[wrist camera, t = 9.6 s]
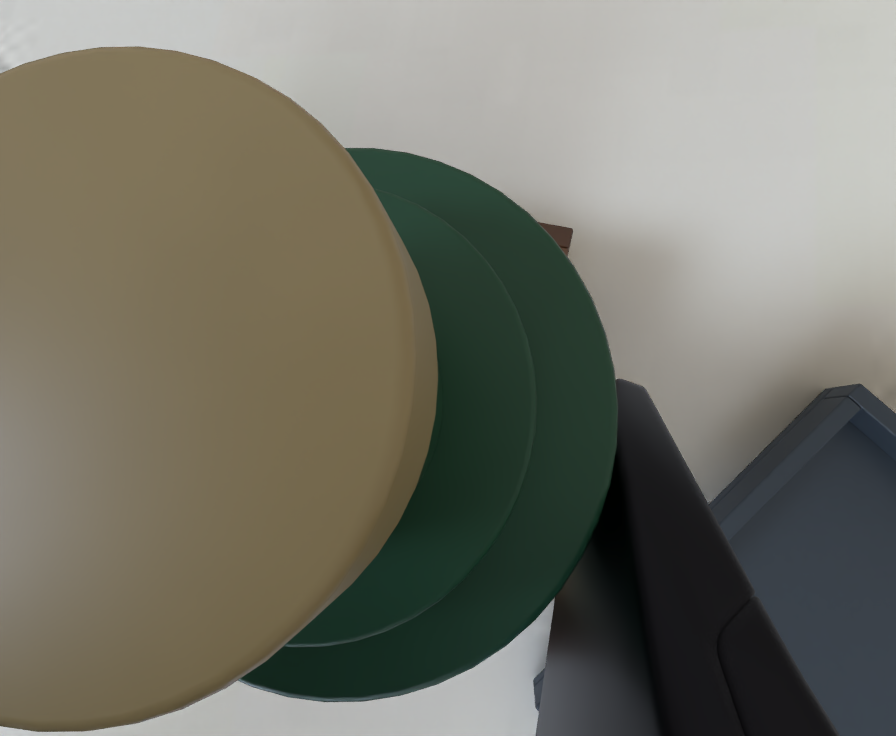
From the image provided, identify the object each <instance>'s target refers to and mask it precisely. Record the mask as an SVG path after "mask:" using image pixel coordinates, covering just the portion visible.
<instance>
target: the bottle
mask: <svg viewBox="0 0 896 736" xmlns="http://www.w3.org/2000/svg"><path fill="white" fill-rule="evenodd" d="M617 428H618V401H617V391H616V381H615V372H614V366H613V362H612V358H611V354H610V349H609V345H608V341H607V337H606V333H605V330H604V328H603V325H602V323H601V320H600V318H599V315H598V312H597V310H596V307H595V305H594V302H593V300H592V297H591V296H590V294H589V292H588V290H587V288H586V287H585V285H584V283H583V281H582V279H581V278H580V276H579V274H578V272H577V270H576V269H575V267H574V265H573V264H572V263H571V261H570V260H569V259H568V257H567V256H566V255H565V253H564V252H563V251H562V249H561V248H560V247H559V245H558V244H557V243H556V241H555V240H554V239H553V238H552V237H551V236H550V235H549V234H548V233H547V231H546V230H545V229H544V228H543V227H542V226H541V225H540V224H539V223H538V222H537V221H536V220H535V219H534V218H533V217H532V216H531V215H530V214H529V213H528V212H526V211H525V210H524V209H522V208H521V207H520V206H519V205H517V204H516V203H515V202H513V201H512V200H511V199H510V198H508V197H507V196H506V195H504V194H503V193H502V192H500V191H499V190H497V189H495V188H493V187H492V186H490V185H488V184H487V183H485V182H483V181H481V180H480V179H478V178H476V177H474V176H473V175H471V174H468V173H466V172H464V171H461V170H459V169H456V168H454V167H451V166H449V165H447V164H444V163H442V162H439V161H436V160H432V159H428V158H425V157H421V156H417V155H414V154H410V153H405V152H398V151H390V150H383V149H375V148H344V147H343V146H342V145H341V144H340V143H339V142H338V141H337V140H336V139H335V138H334V137H333V135H332V134H331V133H330V132H329V131H328V130H327V129H326V128H325V127H324V126H323V125H322V124H321V123H320V122H319V121H318V120H317V119H315V118H314V117H313V116H312V115H310V114H309V113H308V112H307V111H305V110H304V109H303V108H302V107H300V106H299V105H298V104H297V103H295V102H294V101H293V100H292V99H290V98H289V97H287V96H285V95H284V94H282V93H280V92H279V91H277V90H275V89H274V88H272V87H270V86H269V85H267V84H265V83H263V82H262V81H260V80H258V79H257V78H254V77H252V76H250V75H247V74H245V73H243V72H240V71H238V70H235V69H233V68H230V67H228V66H226V65H223V64H221V63H218V62H216V61H213V60H210V59H206V58H202V57H198V56H194V55H190V54H186V53H182V52H178V51H172V50H163V49H155V48H146V47H99V48H93V49H86V50H79V51H73V52H66V53H61V54H57V55H53V56H50V57H46V58H43V59H39V60H36V61H32V62H28V63H25V64H22V65H20V66H17V67H15V68H13V69H10V70H8V71H5V72H3V73H1V74H0V726H3V727H10V728H17V729H23V730H30V731H37V732H58V731H91V730H98V729H104V728H110V727H117V726H123V725H129V724H135V723H140V722H143V721H146V720H149V719H152V718H156V717H159V716H162V715H165V714H168V713H171V712H175V711H178V710H181V709H184V708H186V707H188V706H190V705H192V704H194V703H196V702H198V701H200V700H202V699H204V698H206V697H208V696H210V695H213V694H215V693H217V692H219V691H221V690H223V689H225V688H227V687H228V686H230V685H231V684H233V683H234V682H236V681H237V680H238V681H240V682H242V683H245V684H247V685H249V686H251V687H254V688H258V689H261V690H265V691H268V692H272V693H275V694H279V695H282V696H286V697H291V698H299V699H306V700H314V701H321V702H361V701H369V700H375V699H382V698H388V697H395V696H401V695H404V694H408V693H411V692H414V691H417V690H421V689H424V688H427V687H430V686H434V685H437V684H439V683H441V682H444V681H446V680H448V679H450V678H452V677H454V676H456V675H458V674H461V673H463V672H465V671H467V670H469V669H471V668H473V667H475V666H476V665H478V664H479V663H481V662H482V661H484V660H485V659H487V658H488V657H490V656H491V655H493V654H494V653H496V652H497V651H499V650H500V649H502V648H503V647H505V646H506V645H507V644H509V643H510V642H511V641H512V640H513V639H514V638H515V637H516V636H518V635H519V634H520V633H521V632H522V631H523V630H524V629H526V628H527V627H528V626H529V625H530V624H531V623H532V622H533V621H535V620H536V618H537V617H538V616H539V615H540V614H541V613H542V611H543V610H544V609H545V608H546V607H547V606H548V604H549V603H550V602H551V601H552V600H553V599H554V598H555V596H556V595H557V594H558V593H559V592H560V591H561V589H562V588H563V586H564V584H565V583H566V581H567V580H568V578H569V577H570V575H571V574H572V572H573V570H574V569H575V567H576V566H577V564H578V563H579V561H580V560H581V558H582V556H583V554H584V552H585V550H586V548H587V546H588V543H589V541H590V539H591V537H592V535H593V533H594V531H595V528H596V526H597V524H598V522H599V519H600V516H601V513H602V510H603V506H604V503H605V500H606V497H607V493H608V490H609V487H610V484H611V478H612V472H613V466H614V460H615V454H616V448H617Z"/></svg>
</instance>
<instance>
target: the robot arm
mask: <svg viewBox="0 0 896 736" xmlns="http://www.w3.org/2000/svg"><path fill="white" fill-rule="evenodd" d="M615 381H616V391H617V401H618V428H617V448H616V454H615V460H614V466H613V472H612V478H611V484H610V487H609V490H608V493H607V497H606V500H605V503H604V506H603V510H602V513H601V516H600V519H599V522H598V524H597V526H596V528H595V531H594V533H593V535H592V537H591V539H590V541H589V543H588V546H587V548H586V550H585V552H584V554H583V556H582V558H581V560H580V561H579V563H578V564H577V566H576V567H575V569H574V570H573V572H572V574H571V575H570V577H569V578H568V580H567V581H566V583H565V584H564V586H563V588H562V589H561V591H560V592H559V593H558V594H557V595H556V596H555V602H554V609H553V616H552V623H551V630H550V638H549V645H548V652H547V659H546V666H545V673H544V680H543V687H542V694H541V701H540V708H539V715H538V722H537V729H536V736H840V735H839V733H838V732H837V730H836V728H835V727H834V725H833V724H832V722H831V720H830V719H829V717H828V716H827V714H826V712H825V711H824V709H823V707H822V706H821V704H820V703H819V701H818V699H817V698H816V696H815V695H814V693H813V691H812V690H811V688H810V687H809V685H808V683H807V682H806V680H805V679H804V677H803V675H802V673H801V672H800V670H799V668H798V666H797V665H796V663H795V661H794V659H793V658H792V656H791V654H790V652H789V651H788V649H787V647H786V645H785V644H784V642H783V640H782V638H781V637H780V635H779V633H778V631H777V630H776V628H775V626H774V624H773V622H772V621H771V619H770V617H769V615H768V613H767V611H766V609H765V608H764V606H763V604H762V602H761V600H760V599H759V598H758V597H756V596H753V595H754V594H755V590H754V588H753V586H752V584H751V582H750V580H749V579H748V577H747V575H746V573H745V571H744V569H743V568H742V566H741V564H740V562H739V560H738V558H737V556H736V555H735V553H734V551H733V549H732V547H731V545H730V544H729V542H728V540H727V538H726V536H725V534H724V532H723V531H722V529H721V527H720V525H719V523H718V521H717V519H716V518H715V516H714V514H713V512H712V510H711V508H710V507H709V505H708V503H707V501H706V499H705V497H704V495H703V494H702V492H701V490H700V488H699V486H698V484H697V483H696V481H695V479H694V477H693V475H692V473H691V471H690V470H689V468H688V466H687V464H686V462H685V460H684V459H683V457H682V455H681V453H680V451H679V449H678V447H677V446H676V444H675V442H674V440H673V438H672V436H671V435H670V433H669V431H668V429H667V427H666V425H665V423H664V422H663V420H662V418H661V416H660V414H659V412H658V410H657V409H656V407H655V405H654V403H653V401H652V399H651V398H650V396H649V394H648V392H647V390H646V389H645V388H644V387H643V386H640V385H637V384H634V383H632V382H629V381H626V380H623V379H617V380H615ZM752 596H753V597H752Z"/></svg>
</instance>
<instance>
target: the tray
mask: <svg viewBox="0 0 896 736" xmlns="http://www.w3.org/2000/svg"><path fill="white" fill-rule="evenodd" d="M709 507H710V508H711V510H712V512H713V514H714V516H715V518H716V519H717V521H718V523H719V525H720V527H721V529H722V531H723V532H724V534H725V536H726V538H727V540H728V542H729V544H730V545H731V547H732V549H733V551H734V553H735V555H736V556H737V558H738V560H739V562H740V564H741V566H742V568H743V569H744V571H745V573H746V575H747V577H748V579H749V580H750V582H751V584H752V586H753V588H754V590H755V594H754V595H753V596H756V597H758V598H759V599H760V600H761V602H762V604H763V606H764V608H765V609H766V611H767V613H768V615H769V617H770V619H771V621H772V622H773V624H774V626H775V628H776V630H777V631H778V633H779V635H780V637H781V638H782V640H783V642H784V644H785V645H786V647H787V649H788V651H789V652H790V654H791V656H792V658H793V659H794V661H795V663H796V665H797V666H798V668H799V670H800V672H801V673H802V675H803V677H804V679H805V680H806V682H807V683H808V685H809V687H810V688H811V690H812V691H813V693H814V695H815V696H816V698H817V699H818V701H819V703H820V704H821V706H822V707H823V709H824V711H825V712H826V714H827V716H828V717H829V719H830V720H831V722H832V724H833V725H834V727H835V728H836V730H837V732H838V733H839V735H840V736H896V414H895V413H894V412H893V411H892V410H891V409H890V408H888V407H887V406H886V405H885V404H884V403H883V402H881V401H880V400H879V399H878V398H877V397H876V396H874V395H873V394H872V393H871V392H870V391H869V390H867V389H866V388H865V387H864V386H863V385H862V384H854V385H847V386H840V387H835V388H827V389H825V390H824V391H823V392H822V393H821V394H820V395H819V396H818V397H817V398H815V399H814V400H813V401H812V402H811V403H810V404H809V405H808V406H807V407H806V408H805V409H804V410H803V411H802V412H801V413H800V414H799V415H798V416H797V417H796V418H795V419H794V420H793V421H792V422H791V423H790V424H789V425H788V426H787V427H786V428H785V429H784V430H783V431H782V432H781V433H780V434H779V435H778V436H777V437H776V438H775V439H774V440H773V441H772V442H771V443H770V444H769V445H768V446H767V447H766V448H765V449H764V450H763V451H762V452H761V453H760V454H759V455H758V456H757V457H756V458H755V459H754V460H753V461H752V462H751V463H750V464H749V465H748V466H747V467H746V468H745V469H744V470H743V471H742V472H741V473H740V474H739V475H738V476H737V477H736V478H735V479H734V480H733V481H732V482H731V483H730V484H729V485H728V486H727V487H726V488H725V489H724V490H723V491H722V492H721V493H720V494H719V495H718V496H717V497H716V498H715V499H714V500H713V501H712V502H711V503H710V504H709ZM753 596H752V597H753ZM544 673H545V669H544V670H543V671H542V672H541V673H540V674H539V675H538V676H537V677H536V678H535V679H534V680H533V682H534V695H535V707H536V709H537V710H538V711H539V708H540V701H541V694H542V687H543V680H544Z"/></svg>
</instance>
